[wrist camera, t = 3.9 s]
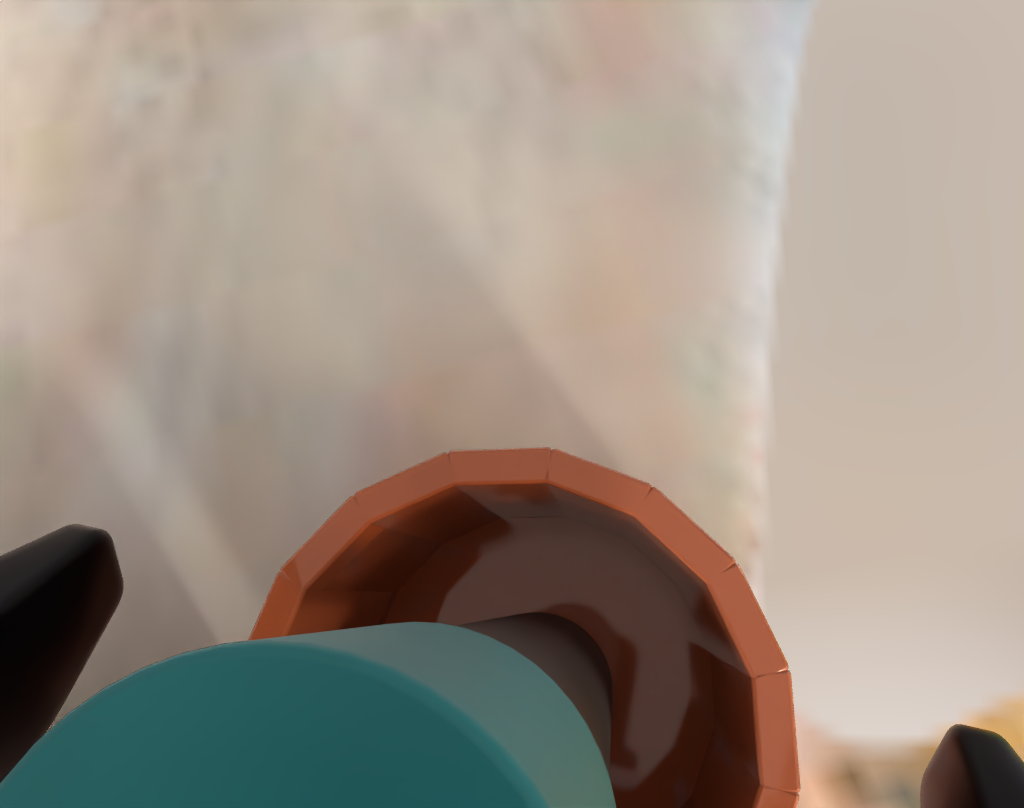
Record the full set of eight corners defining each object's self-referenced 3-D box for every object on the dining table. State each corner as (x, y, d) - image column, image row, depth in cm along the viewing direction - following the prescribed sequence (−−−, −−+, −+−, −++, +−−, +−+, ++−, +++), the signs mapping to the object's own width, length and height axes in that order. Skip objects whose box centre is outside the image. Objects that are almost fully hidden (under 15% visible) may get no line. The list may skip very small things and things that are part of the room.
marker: (540, 811, 16) (206, 1734, 3) (426, 689, 16) (-234, 1010, 4) (652, 688, 16) (790, 1056, 3) (535, 573, 16) (266, 498, 4)
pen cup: (546, 994, 15) (507, 1209, 10) (277, 687, 17) (122, 729, 12) (821, 686, 16) (925, 731, 10) (534, 419, 18) (497, 343, 12)
